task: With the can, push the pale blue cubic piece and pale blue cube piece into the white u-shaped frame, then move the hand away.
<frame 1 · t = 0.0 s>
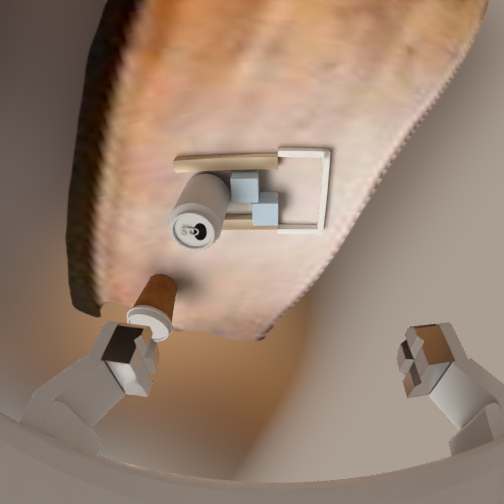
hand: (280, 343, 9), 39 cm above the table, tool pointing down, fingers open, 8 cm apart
white u-shaped frame: (301, 191, 48), on the table
disposable coffee cup: (163, 284, 64), on the table
slot rails: (228, 191, 49), on the table
pale blue cube piece: (265, 202, 50), on the table
can: (208, 191, 49), on the table
pale blue cubic piece: (246, 179, 48), on the table
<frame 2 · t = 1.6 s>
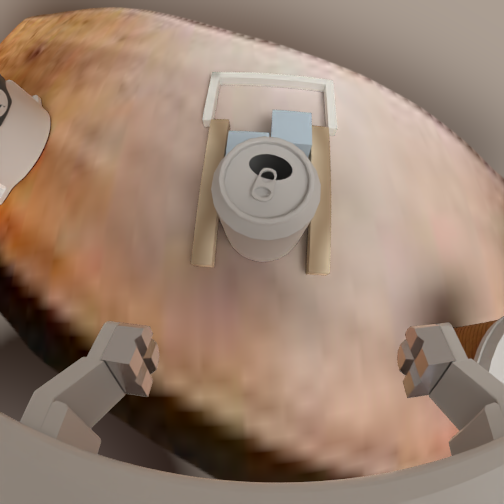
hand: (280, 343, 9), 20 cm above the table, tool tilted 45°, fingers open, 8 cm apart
white u-shaped frame: (271, 103, 33), on the table
disposable coffee cup: (446, 355, 27), on the table
slot rails: (265, 193, 31), on the table
pale blue cube piece: (288, 146, 32), on the table
can: (263, 226, 30), on the table
pale blue cubic piece: (248, 166, 32), on the table
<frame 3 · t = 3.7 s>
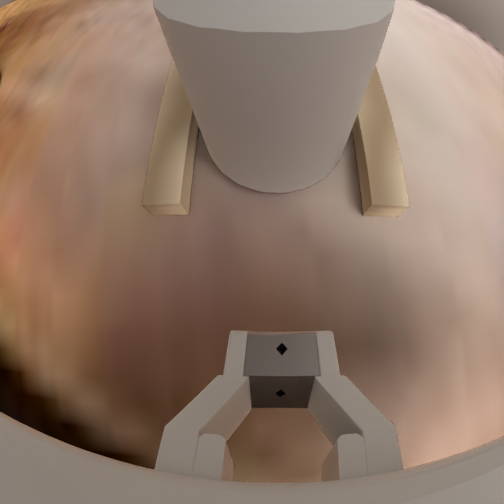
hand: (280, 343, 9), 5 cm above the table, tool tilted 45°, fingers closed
slot rails: (274, 93, 17), on the table
can: (275, 140, 16), on the table
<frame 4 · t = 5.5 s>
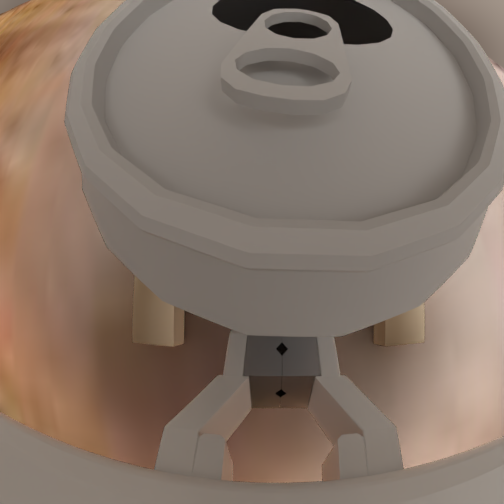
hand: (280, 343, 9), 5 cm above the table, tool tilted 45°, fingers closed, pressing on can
slot rails: (279, 182, 15), on the table
can: (280, 242, 15), on the table, touching gripper
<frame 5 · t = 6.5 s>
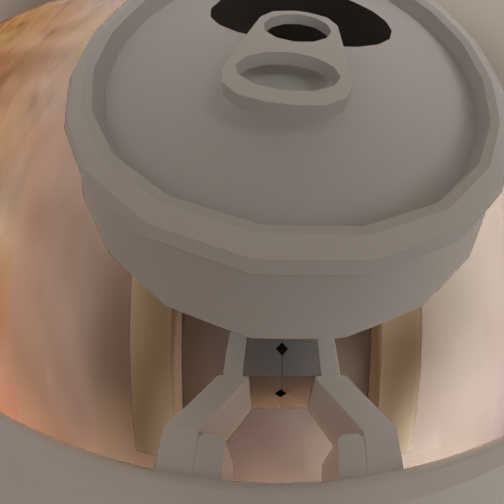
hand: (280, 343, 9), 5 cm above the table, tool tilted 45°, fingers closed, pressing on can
slot rails: (277, 293, 14), on the table
can: (279, 242, 15), on the table, touching gripper
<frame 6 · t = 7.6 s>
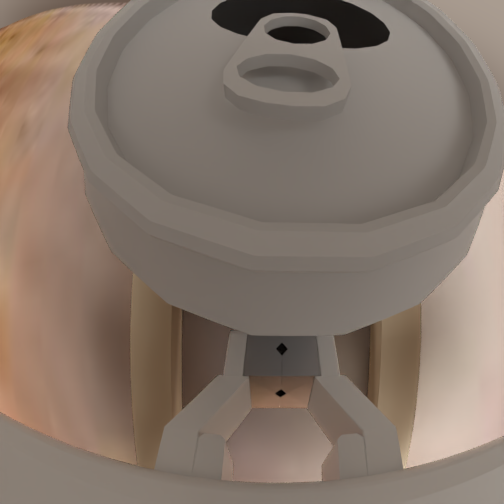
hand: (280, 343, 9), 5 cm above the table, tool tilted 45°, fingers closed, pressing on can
slot rails: (276, 362, 13), on the table
can: (279, 242, 15), on the table, touching pale blue cube piece, gripper
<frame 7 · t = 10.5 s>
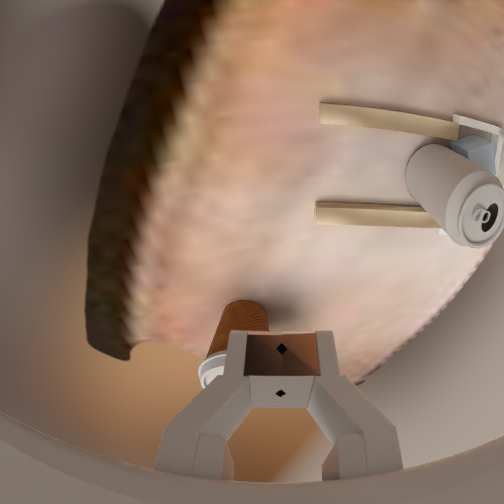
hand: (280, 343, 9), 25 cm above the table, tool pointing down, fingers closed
white u-shaped frame: (468, 177, 29), on the table
disposable coffee cup: (244, 315, 43), on the table
slot rails: (387, 167, 30), on the table
can: (429, 172, 30), on the table
pale blue cubic piece: (464, 153, 28), on the table
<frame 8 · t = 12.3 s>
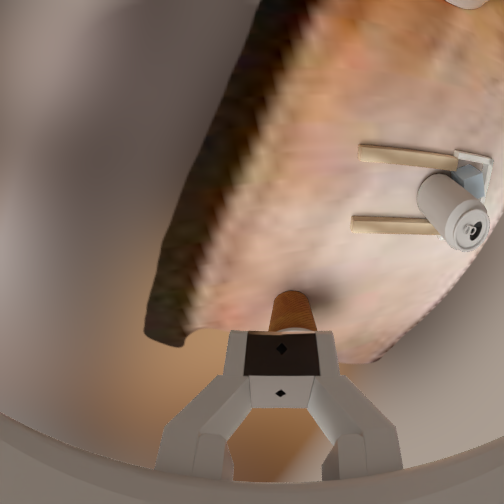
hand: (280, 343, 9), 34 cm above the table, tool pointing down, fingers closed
white u-shaped frame: (463, 196, 39), on the table
disposable coffee cup: (291, 303, 54), on the table
slot rails: (404, 190, 40), on the table
can: (434, 193, 40), on the table
pale blue cubic piece: (461, 178, 38), on the table
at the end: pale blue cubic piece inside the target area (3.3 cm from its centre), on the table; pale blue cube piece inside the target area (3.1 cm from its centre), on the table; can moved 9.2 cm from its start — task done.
